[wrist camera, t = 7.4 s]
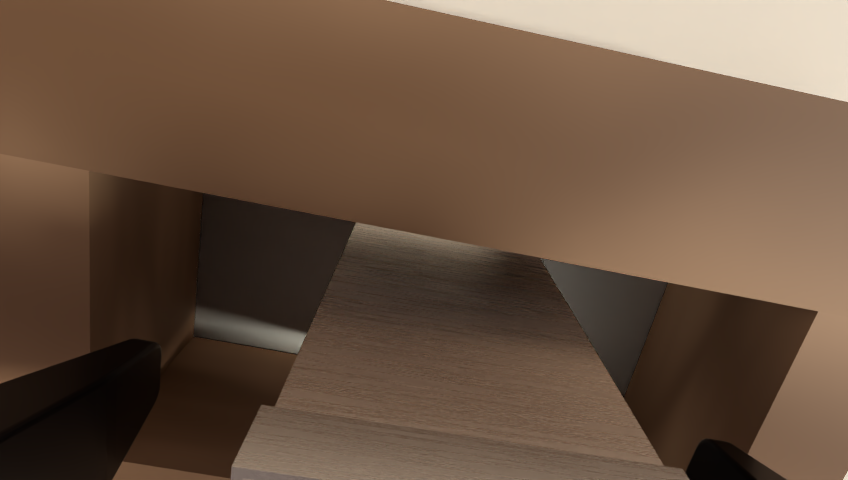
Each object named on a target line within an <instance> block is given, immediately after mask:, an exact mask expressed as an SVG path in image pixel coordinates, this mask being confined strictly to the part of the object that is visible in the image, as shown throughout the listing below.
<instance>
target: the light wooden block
mask: <svg viewBox="0 0 848 480" xmlns="http://www.w3.org/2000/svg"><path fill="white" fill-rule="evenodd" d="M231 480H689V478H688V477H687V475H686V473H685V472H684V470H683V469H680V468H674V467H667V466H664V465H663V463H662V462H661V460H660V458H659V457H658V455H657V453H656V452H655V450H654V448H653V447H652V445H651V443H650V442H649V440H648V438H647V436H646V435H645V433H644V431H643V430H642V428H641V426H640V425H639V423H638V421H637V420H636V418H635V416H634V415H633V413H632V411H631V410H630V408H629V406H628V405H627V403H626V401H625V400H624V398H623V396H622V395H621V393H620V391H619V390H618V388H617V386H616V385H615V383H614V381H613V380H612V378H611V376H610V375H609V373H608V371H607V370H606V368H605V366H604V364H603V363H602V361H601V359H600V358H599V356H598V354H597V353H596V351H595V349H594V348H593V346H592V344H591V343H590V341H589V339H588V338H587V336H586V334H585V333H584V331H583V329H582V328H581V326H580V324H579V323H578V321H577V319H576V318H575V316H574V314H573V313H572V311H571V309H570V308H569V306H568V304H567V303H566V301H565V299H564V297H563V296H562V294H561V292H560V291H559V289H558V287H557V286H556V284H555V282H554V281H553V279H552V277H551V276H550V274H549V272H548V271H547V269H546V267H545V266H544V264H543V262H542V261H541V259H540V258H539V257H533V256H528V255H523V254H518V253H513V252H507V251H502V250H497V249H492V248H487V247H482V246H476V245H471V244H466V243H461V242H456V241H450V240H445V239H440V238H435V237H430V236H424V235H419V234H414V233H409V232H404V231H398V230H393V229H388V228H383V227H378V226H373V225H367V224H362V223H357V222H356V224H355V226H354V228H353V231H352V233H351V235H350V237H349V240H348V242H347V244H346V246H345V249H344V251H343V253H342V255H341V258H340V260H339V262H338V265H337V267H336V269H335V271H334V274H333V276H332V278H331V280H330V283H329V285H328V287H327V289H326V292H325V294H324V296H323V298H322V301H321V303H320V305H319V308H318V310H317V312H316V314H315V317H314V319H313V321H312V323H311V326H310V328H309V330H308V332H307V335H306V337H305V339H304V341H303V344H302V346H301V348H300V351H299V353H298V355H297V357H296V360H295V362H294V364H293V366H292V369H291V371H290V373H289V375H288V378H287V380H286V382H285V384H284V387H283V389H282V391H281V394H280V396H279V398H278V400H277V403H276V405H275V407H274V406H267V405H261V407H260V409H259V411H258V413H257V415H256V417H255V419H254V421H253V423H252V425H251V427H250V429H249V431H248V434H247V436H246V438H245V440H244V442H243V444H242V446H241V448H240V450H239V452H238V454H237V456H236V458H235V460H234V462H233V465H232V467H231Z"/></svg>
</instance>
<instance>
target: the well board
mask: <svg viewBox="0 0 848 480" xmlns="http://www.w3.org/2000/svg"><path fill="white" fill-rule="evenodd" d="M203 193H206V194H212V195H217V196H222V197H227V198H232V199H238V200H243V201H248V202H253V203H258V204H264V205H269V206H274V207H279V208H284V209H289V210H295V211H300V212H305V213H310V214H315V215H321V216H326V217H331V218H336V219H341V220H347V221H352V222H357V223H362V224H367V225H373V226H378V227H383V228H388V229H393V230H398V231H404V232H409V233H414V234H419V235H424V236H430V237H435V238H440V239H445V240H450V241H456V242H461V243H466V244H471V245H476V246H482V247H487V248H492V249H497V250H502V251H507V252H513V253H518V254H523V255H528V256H533V257H539V258H544V259H549V260H554V261H559V262H565V263H570V264H575V265H580V266H585V267H591V268H596V269H601V270H606V271H611V272H617V273H622V274H627V275H632V276H637V277H642V278H648V279H653V280H658V281H663V282H668V285H667V287H666V290H665V292H664V295H663V298H662V300H661V303H660V305H659V308H658V311H657V313H656V316H655V318H654V321H653V324H652V326H651V329H650V331H649V334H648V337H647V339H646V342H645V344H644V347H643V350H642V352H641V355H640V357H639V360H638V363H637V365H636V368H635V370H634V373H633V376H632V378H631V381H630V383H629V386H628V389H627V391H626V394H625V396H624V400H625V401H626V403H627V405H628V406H629V408H630V410H631V411H632V413H633V415H634V416H635V418H636V420H637V421H638V423H639V425H640V426H641V428H642V430H643V431H644V433H645V435H646V436H647V438H648V440H649V442H650V443H651V445H652V447H653V448H654V450H655V452H656V453H657V455H658V457H659V458H660V460H661V462H662V463H663V465H664V466H667V467H674V468H680V469H683V470H684V472H685V471H686V469H687V467H688V465H689V462H690V460H691V458H692V456H693V454H694V451H695V449H696V447H697V445H698V443H699V442H700V441H701V440H703V439H706V438H709V439H715V440H721V441H726V442H729V443H731V444H733V445H734V446H736V447H738V448H739V449H741V450H742V451H744V452H745V453H747V454H748V455H750V456H751V457H753V458H754V459H756V460H758V461H759V462H761V463H762V464H764V465H765V466H767V467H768V468H770V469H771V470H773V471H775V472H776V473H778V474H779V475H781V476H782V477H784V478H785V479H787V480H843V478H844V476H845V475H846V473H847V471H848V102H844V101H839V100H835V99H830V98H826V97H821V96H817V95H812V94H808V93H803V92H799V91H794V90H790V89H785V88H780V87H776V86H771V85H767V84H762V83H758V82H753V81H749V80H744V79H740V78H735V77H731V76H726V75H721V74H717V73H712V72H708V71H703V70H699V69H694V68H690V67H685V66H681V65H676V64H672V63H667V62H662V61H658V60H653V59H649V58H644V57H640V56H635V55H631V54H626V53H622V52H617V51H613V50H608V49H603V48H599V47H594V46H590V45H585V44H581V43H576V42H572V41H567V40H563V39H558V38H554V37H549V36H545V35H540V34H535V33H531V32H526V31H522V30H517V29H513V28H508V27H504V26H499V25H495V24H490V23H486V22H481V21H476V20H472V19H467V18H463V17H458V16H454V15H449V14H445V13H440V12H436V11H431V10H427V9H422V8H417V7H413V6H408V5H404V4H399V3H395V2H390V1H386V0H0V383H3V382H6V381H9V380H12V379H15V378H18V377H21V376H24V375H27V374H30V373H32V372H35V371H38V370H41V369H44V368H47V367H50V366H53V365H56V364H59V363H62V362H65V361H67V360H70V359H73V358H76V357H79V356H82V355H85V354H88V353H91V352H94V351H97V350H100V349H102V348H105V347H108V346H111V345H114V344H117V343H120V342H123V341H126V340H129V339H133V338H136V339H142V340H147V341H153V342H157V343H158V344H159V345H160V346H161V351H162V355H161V377H160V390H159V394H158V397H157V400H156V402H155V404H154V406H153V408H152V409H151V411H150V413H149V415H148V417H147V418H146V420H145V422H144V424H143V426H142V427H141V429H140V431H139V433H138V435H137V436H136V438H135V440H134V442H133V444H132V446H131V447H130V449H129V451H128V453H127V455H126V456H125V458H124V460H123V462H122V464H121V465H120V467H119V469H118V471H117V473H116V474H115V476H114V478H113V479H112V480H231V467H232V465H233V462H234V460H235V458H236V456H237V454H238V452H239V450H240V448H241V446H242V444H243V442H244V440H245V438H246V436H247V434H248V431H249V429H250V427H251V425H252V423H253V421H254V419H255V417H256V415H257V413H258V411H259V409H260V407H261V405H267V406H274V407H275V405H276V403H277V400H278V398H279V396H280V394H281V391H282V389H283V387H284V384H285V382H286V380H287V378H288V375H289V373H290V371H291V369H292V366H293V364H294V362H295V360H296V357H297V355H296V354H290V353H284V352H279V351H273V350H267V349H262V348H256V347H250V346H244V345H239V344H233V343H227V342H222V341H216V340H210V339H204V338H199V337H193V335H194V320H195V305H196V290H197V275H198V260H199V245H200V229H201V214H202V199H203Z"/></svg>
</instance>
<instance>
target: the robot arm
mask: <svg viewBox="0 0 848 480" xmlns="http://www.w3.org/2000/svg"><path fill="white" fill-rule="evenodd" d="M161 355H162V351H161V346H160V345H159V344H158V343H157V342H153V341H147V340H142V339H136V338H133V339H129V340H126V341H123V342H120V343H117V344H114V345H111V346H108V347H105V348H102V349H100V350H97V351H94V352H91V353H88V354H85V355H82V356H79V357H76V358H73V359H70V360H67V361H65V362H62V363H59V364H56V365H53V366H50V367H47V368H44V369H41V370H38V371H35V372H32V373H30V374H27V375H24V376H21V377H18V378H15V379H12V380H9V381H6V382H3V383H0V480H112V479H113V478H114V476H115V474H116V473H117V471H118V469H119V467H120V465H121V464H122V462H123V460H124V458H125V456H126V455H127V453H128V451H129V449H130V447H131V446H132V444H133V442H134V440H135V438H136V436H137V435H138V433H139V431H140V429H141V427H142V426H143V424H144V422H145V420H146V418H147V417H148V415H149V413H150V411H151V409H152V408H153V406H154V404H155V402H156V400H157V397H158V394H159V390H160V377H161ZM685 473H686V475H687V477H688V478H689V480H787V479H785V478H784V477H782V476H781V475H779V474H778V473H776V472H775V471H773V470H771V469H770V468H768V467H767V466H765V465H764V464H762V463H761V462H759V461H758V460H756V459H754V458H753V457H751V456H750V455H748V454H747V453H745V452H744V451H742V450H741V449H739V448H738V447H736V446H734V445H733V444H731V443H729V442H726V441H721V440H715V439H709V438H706V439H703V440H701V441H700V442H699V443H698V445H697V447H696V449H695V451H694V454H693V456H692V458H691V460H690V462H689V465H688V467H687V469H686V471H685Z"/></svg>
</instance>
